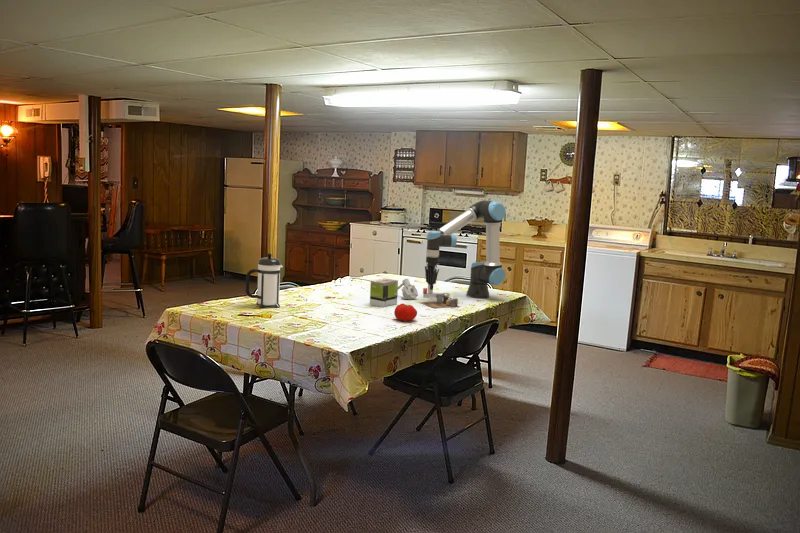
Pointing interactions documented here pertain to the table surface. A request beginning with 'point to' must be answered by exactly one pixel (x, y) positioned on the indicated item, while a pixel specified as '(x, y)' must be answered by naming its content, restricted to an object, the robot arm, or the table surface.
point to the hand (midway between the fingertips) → (430, 294)
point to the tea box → (383, 292)
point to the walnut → (448, 302)
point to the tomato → (405, 312)
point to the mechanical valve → (408, 290)
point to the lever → (435, 295)
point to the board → (441, 304)
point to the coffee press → (266, 281)
